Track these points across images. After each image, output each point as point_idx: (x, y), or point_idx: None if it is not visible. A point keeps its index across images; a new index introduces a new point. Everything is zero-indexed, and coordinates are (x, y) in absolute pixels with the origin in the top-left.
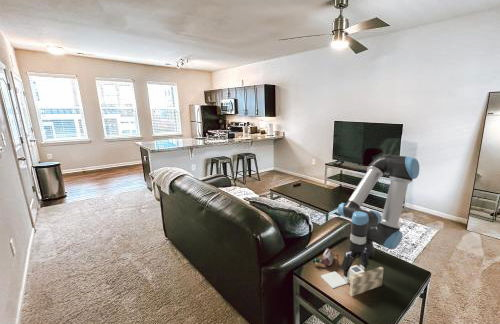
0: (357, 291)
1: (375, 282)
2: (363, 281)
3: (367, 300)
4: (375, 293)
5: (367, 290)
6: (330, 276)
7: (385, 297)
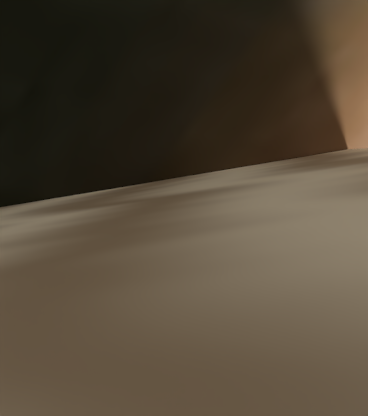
0: (299, 162)
1: (8, 213)
2: (264, 193)
3: (239, 63)
4: (97, 131)
5: (152, 182)
6: None
7: (26, 53)
